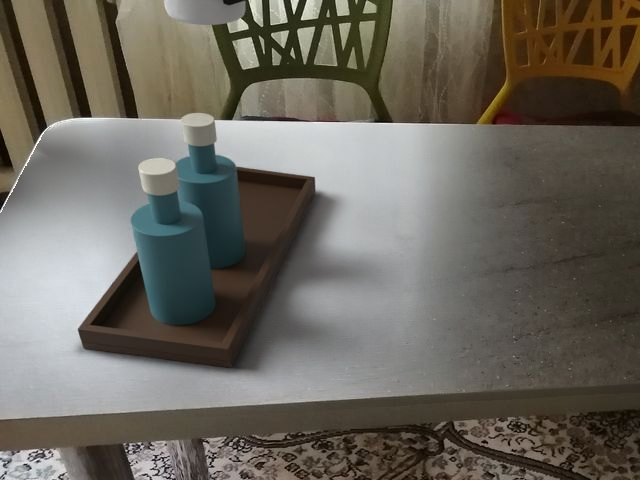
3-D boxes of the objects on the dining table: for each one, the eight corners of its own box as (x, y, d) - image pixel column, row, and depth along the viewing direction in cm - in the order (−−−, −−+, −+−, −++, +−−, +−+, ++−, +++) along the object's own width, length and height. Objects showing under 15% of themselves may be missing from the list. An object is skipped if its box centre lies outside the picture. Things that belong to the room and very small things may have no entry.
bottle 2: (235, 272, 77) (218, 137, 68) (178, 264, 77) (153, 128, 68) (252, 241, 82) (239, 110, 72) (198, 234, 82) (178, 102, 72)
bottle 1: (203, 329, 70) (179, 187, 60) (140, 321, 70) (106, 178, 60) (224, 292, 75) (205, 154, 65) (164, 284, 75) (136, 145, 65)
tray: (231, 368, 68) (228, 349, 66) (83, 348, 68) (77, 329, 66) (315, 193, 93) (315, 176, 91) (207, 179, 93) (204, 162, 91)
